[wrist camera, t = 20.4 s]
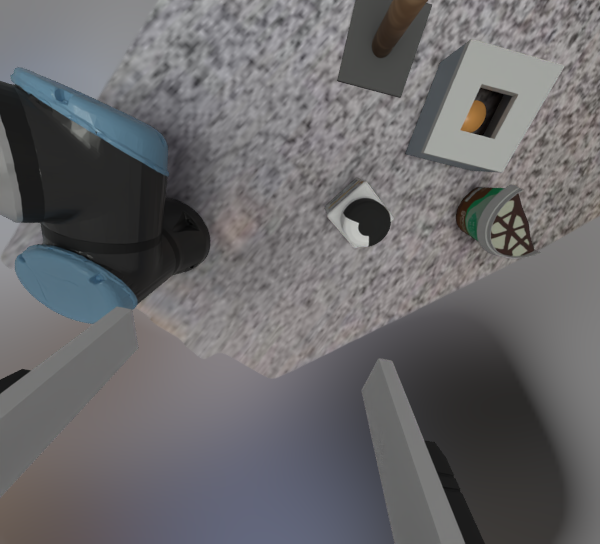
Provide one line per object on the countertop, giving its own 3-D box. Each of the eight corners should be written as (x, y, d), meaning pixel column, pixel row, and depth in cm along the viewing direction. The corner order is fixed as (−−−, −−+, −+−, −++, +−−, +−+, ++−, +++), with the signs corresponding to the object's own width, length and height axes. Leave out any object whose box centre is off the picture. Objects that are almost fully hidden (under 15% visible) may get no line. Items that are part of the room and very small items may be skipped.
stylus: (368, 54, 32) (410, -22, 18) (376, 26, 30) (426, -79, 17) (388, 60, 32) (443, -12, 19) (397, 32, 31) (463, -67, 17)
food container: (439, 200, 41) (475, 212, 32) (474, 179, 39) (522, 185, 30) (461, 252, 45) (498, 275, 36) (493, 235, 43) (541, 255, 34)
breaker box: (405, 153, 38) (423, 152, 31) (440, 62, 32) (471, 38, 26) (471, 170, 38) (502, 172, 32) (516, 83, 33) (564, 65, 27)
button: (440, 132, 36) (450, 130, 33) (453, 102, 34) (465, 97, 31) (463, 138, 36) (475, 136, 33) (477, 108, 34) (491, 104, 31)
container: (357, 177, 40) (375, 183, 28) (381, 209, 42) (408, 228, 30) (323, 206, 42) (328, 224, 31) (348, 236, 44) (361, 262, 33)
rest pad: (337, 80, 34) (337, 80, 33) (359, -15, 29) (359, -17, 29) (399, 97, 34) (400, 96, 34) (430, 6, 30) (432, 4, 29)
